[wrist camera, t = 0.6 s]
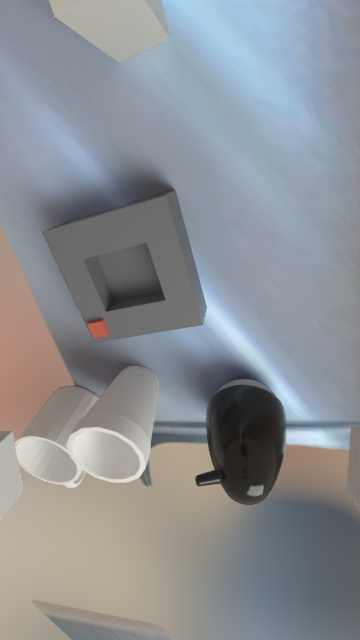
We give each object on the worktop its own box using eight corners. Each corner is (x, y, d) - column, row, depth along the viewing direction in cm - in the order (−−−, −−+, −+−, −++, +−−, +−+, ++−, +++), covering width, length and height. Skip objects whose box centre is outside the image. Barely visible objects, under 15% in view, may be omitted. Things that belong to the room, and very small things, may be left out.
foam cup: (180, 397, 46) (159, 476, 35) (130, 411, 50) (97, 487, 38) (148, 348, 43) (115, 418, 32) (97, 366, 46) (51, 436, 35)
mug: (41, 388, 51) (-1, 439, 42) (92, 380, 48) (58, 433, 39) (75, 441, 56) (44, 495, 47) (123, 437, 53) (99, 494, 44)
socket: (63, 223, 36) (38, 233, 32) (175, 189, 32) (164, 196, 28) (108, 324, 42) (92, 345, 38) (206, 307, 38) (201, 327, 34)
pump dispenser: (208, 363, 42) (193, 459, 29) (287, 370, 40) (308, 476, 27) (207, 417, 47) (193, 519, 34) (276, 425, 45) (290, 536, 32)
